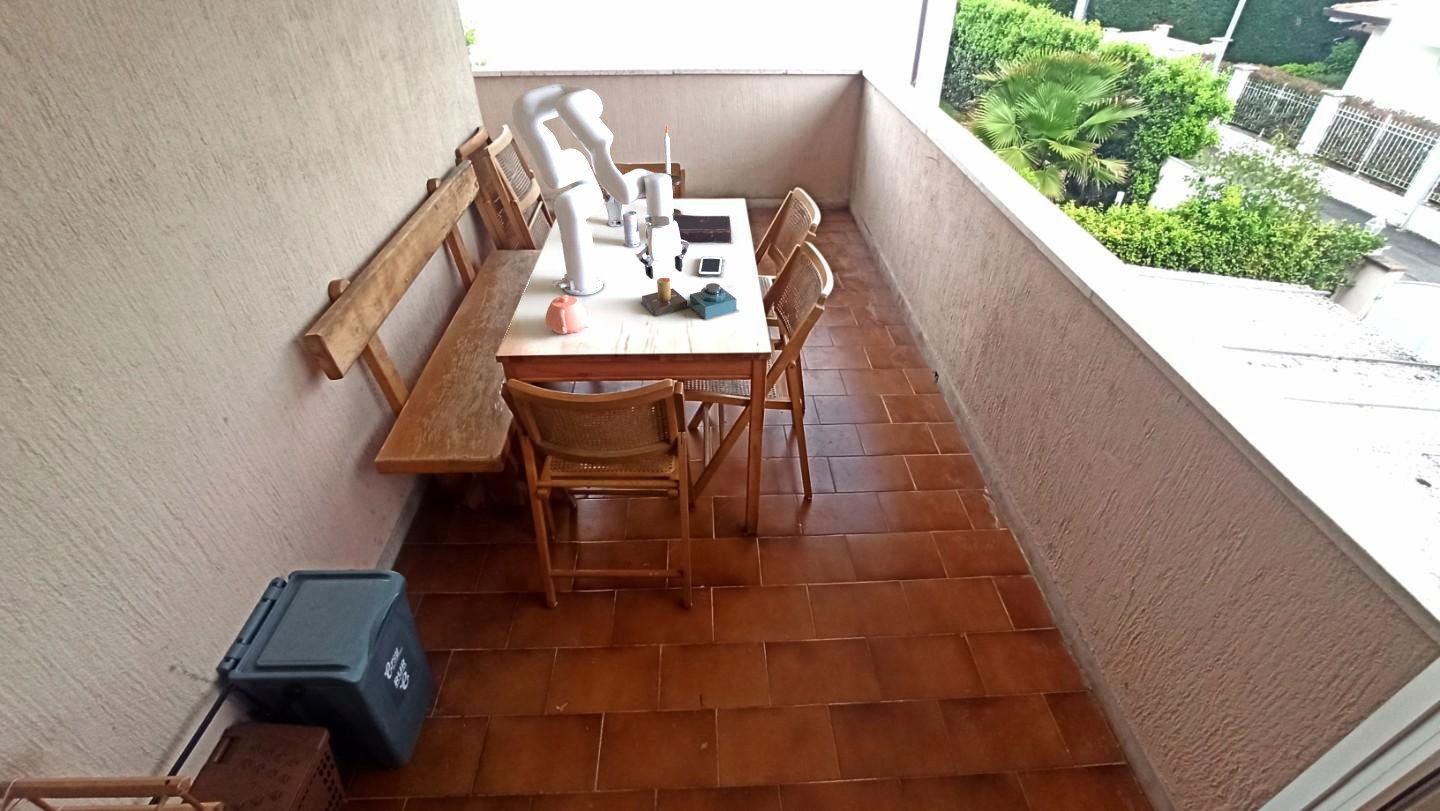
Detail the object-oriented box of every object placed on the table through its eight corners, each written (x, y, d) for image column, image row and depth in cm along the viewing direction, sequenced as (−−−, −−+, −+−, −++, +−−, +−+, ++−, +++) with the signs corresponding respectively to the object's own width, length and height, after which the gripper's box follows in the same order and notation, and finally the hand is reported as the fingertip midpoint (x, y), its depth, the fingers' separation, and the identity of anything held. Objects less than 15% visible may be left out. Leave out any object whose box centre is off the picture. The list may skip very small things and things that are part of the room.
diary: (731, 244, 242) (731, 231, 239) (664, 244, 241) (664, 231, 238) (729, 226, 257) (729, 213, 254) (666, 226, 256) (666, 214, 254)
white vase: (604, 222, 260) (600, 184, 251) (621, 219, 262) (617, 182, 253) (609, 228, 255) (606, 190, 246) (626, 225, 257) (623, 187, 248)
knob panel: (656, 316, 196) (655, 308, 195) (642, 303, 203) (641, 295, 202) (687, 307, 201) (687, 300, 199) (673, 295, 208) (672, 287, 206)
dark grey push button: (710, 296, 195) (710, 290, 193) (703, 291, 198) (703, 285, 196) (722, 293, 196) (722, 287, 195) (715, 287, 199) (715, 281, 198)
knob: (661, 302, 198) (660, 283, 194) (655, 297, 201) (654, 278, 197) (673, 299, 200) (672, 280, 196) (667, 294, 203) (666, 275, 199)
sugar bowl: (591, 317, 195) (587, 286, 189) (585, 340, 184) (581, 309, 178) (551, 317, 195) (546, 287, 189) (542, 341, 184) (536, 309, 178)
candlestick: (672, 207, 274) (669, 120, 253) (688, 214, 267) (685, 125, 246) (651, 213, 268) (646, 124, 248) (666, 220, 261) (662, 129, 241)
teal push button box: (705, 319, 195) (705, 301, 191) (689, 306, 202) (689, 288, 198) (736, 311, 199) (736, 293, 196) (719, 298, 206) (720, 281, 202)
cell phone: (698, 276, 219) (698, 273, 218) (701, 258, 231) (701, 256, 230) (720, 277, 218) (720, 274, 218) (722, 259, 230) (722, 256, 230)
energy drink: (640, 242, 243) (638, 211, 236) (638, 247, 239) (635, 216, 232) (627, 241, 244) (624, 210, 237) (623, 247, 239) (621, 215, 232)
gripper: (638, 228, 179) (644, 284, 189) (693, 216, 186) (695, 271, 196) (627, 220, 184) (633, 275, 195) (681, 209, 191) (683, 263, 202)
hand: (664, 273), depth 195 cm, fingers open, 9 cm apart
